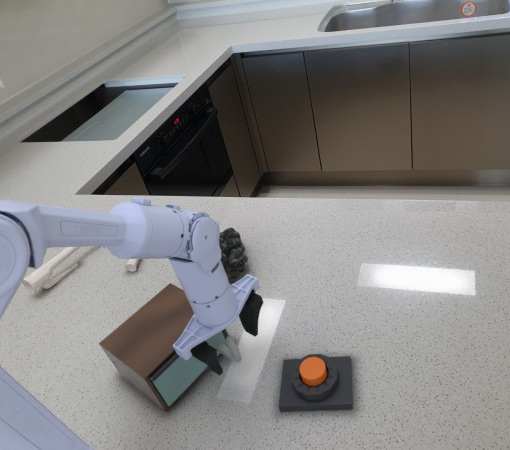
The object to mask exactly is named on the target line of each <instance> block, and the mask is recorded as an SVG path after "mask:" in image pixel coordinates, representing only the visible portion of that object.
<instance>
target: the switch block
mask: <svg viewBox="0 0 510 450" xmlns="http://www.w3.org/2000/svg"><path fill="white" fill-rule="evenodd" d="M310 357H318V358H320V359H321V360H323V362H324V363H325V366H326V371H327V377H326V379H325V381H324V382H323V383H322V384H320V385H318V386H308V385H306V384H305V383H304V382H303V380H302V377H301V374H300V365H301V363H302V362H303V361H304V360H305V359H307V358H310ZM282 363H283V364H282V373H281V380H280V391H279V401H278V409H279V411H280V412H306V411H308V412H309V411H310V412H311V411H332V410H333V411H335V410H353V409H354V405H353V404H354V403H353V368H352V363H353V362H352V356H351V355H344V356H327V355H325V354H323V353H309V354H307V355H305V356H303V357H301V358H289V359H288V358H287V359H286V358H285V359H283V362H282Z"/></svg>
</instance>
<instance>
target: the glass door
mask: <svg viewBox="0 0 510 450" xmlns="http://www.w3.org/2000/svg"><path fill="white" fill-rule="evenodd" d="M227 333H228V332H227ZM227 333H226V331H225V329H224V330H222V331H220V332H218V333H217V334H215V335H213V336H212V337H210V338H208V339H207V340H205V341H206V342H208V344H209V345H210V346H212V347H213V348H215V349H217V356H218V355H219V354H220V353H222V354H221V355H223V356H224V357H226V358H228V359H230V360H232V361H233V362H234V363H240V362H242V360H243V357H242V355H241V352H240V350H239V347H238V344H237V343H236V341H235V338H234V336H233V335H229V336H227ZM227 346H228V347H227ZM207 367H208V366H207V365H206V364H205V363H203V362H201V361H199V360H198V359H196V358H195V357H193V356H191V357H190V358H189V359H188V360H185V359H183V358H182V357H180V356H179V355H178V354H177V353H175V354H174V355H173V356H172V357H171V358H170V359H169V360H168V361H167V362H166V363H165V364H164V365H163V366H162V367H161V368H160V369H159V370H158V371H157V372H156V373H155V374H154V375H153V376H152V377H151V378H150V379H151V380H152V382H153V383H154V385H155V387H156V388H157V390H158V391H159V393H160V394H161V396H162V397H163V399H164V400H165V402H166V403H167V405H168V406H170V405H171V404H172V403H173V402H174V401H175V400H176V399H177V398H178V397H179V396H180V395H181V394H182V393H183V392H184V391H185V390H186V389H187V388H188V387H189V385H190V384H191V383H192V382H193V381H194V380H195V379H196V378H197V377H198V376H199V375H200V374H201V373H202V372H203V371H204V370H205V369H206V368H207ZM208 368H209V367H208ZM189 388H190V387H189ZM189 388H188V389H189ZM188 389H187V390H188ZM187 390H186V391H187ZM186 391H185V392H186Z"/></svg>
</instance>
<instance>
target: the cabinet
mask: <svg viewBox="0 0 510 450" xmlns="http://www.w3.org/2000/svg"><path fill="white" fill-rule="evenodd" d="M193 315H194V311H193V309H192V307H191V305H190V303H189V301H188V299H187V297H186V295H185V293H184V290H183V288H180V287H179V286H177V285H175V284H173V283H168V284H167V285H166V286H165V287H164V288H162V289H161V290H160V291H159V292H157V294H155V295H154V296H153V297H152V298H151V299H149V300H148V301H147V302H146V303H144V304H143V305H142V306H141V307H139V309H138V310H136V311H135V312H134V313H133V314H131V316H129V317H128V318H127V319H126V320H124V321H123V322H122V323H121V324H120V325H118V327H116V328H115V329H113V331H112V332H110V333H109V334H108V335H107V336H106V337H104V338H103V339H102V340H101V341H100V342H99V343H98V345H99V346H100V348H101V349H102V351H103V352H104V353H105V355H106V356H107V358H108V359H109V360H110V362H111V363H112V365H113V366H114V367H115V368H116V370H117V372H118V373H119V374H120V375H121V377H122V378H123V379H124V380H126V381H127V382H128V383H129V384H131V385H132V386H133V387H134V388H136V389H137V390H138V391H139V392H141V393H142V394H143V395H145V397H147V398H148V399H150V400H151V401H152V402H153V403H154V404H155V405H157V406H158V407H159V408H160V409H162V410H163V411H164V412H167V411H169V409H170V408H171V407H172V406H173V405H174V404H176V403H177V401H178V400H179V399H180V398H181V397H182V396H183V395H184V394H185V393H186V392H187V390H189V389H190V388H191V386H193V384H195V382H197V380H198V379H199V378H200V377H201V376H202V375H203V374H204V373H205V372H206V371H207V370H208V369H209V367H207V368H206V369H205V370H204V371H203V372H202V373H201V374H200V375H199V376H198V377H197V378H196V379H195V380H194V381H193V382H192V383H191V384H190V385H189V387H188V388H187V389H186V390H185V391H184V392H183V393H182V394H181V395H180V396H179V397H178V398H177V399H176V400H175V401H174V402H173V403H172V404H171V405H170V406H168V405H167V403H166V402H165V400H164V399H163V397H162V396H161V394H160V393H159V391H158V390H157V388H156V387H155V385H154V383H153V382H152V380H151V379H150V378H151V377H152V376H153V375H154V374H155V373H156V372H157V371H158V370H159V369H160V368H161V367H162V366H163V365H164V364H165V363H166V362H167V361H168V360H169V359H170V358H171V357H172V356H173V355H174V354H175V353H176V351H175V349H174V347H173V344H174V343H175V342H176V341H177V340H178V339H179V338H180V336H181V335H182V333H183V331H184V330H185V328H186V326H187V325H188V323H189V321H190V320H191V318H192V316H193ZM225 331H226V333H227V336H230V335H229V333H228V330H227V328H225ZM227 347H228V346H227ZM221 355H223V354H222V353H220V354H219V355H218V356H217V358H218V359H219V357H220V356H221Z"/></svg>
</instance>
